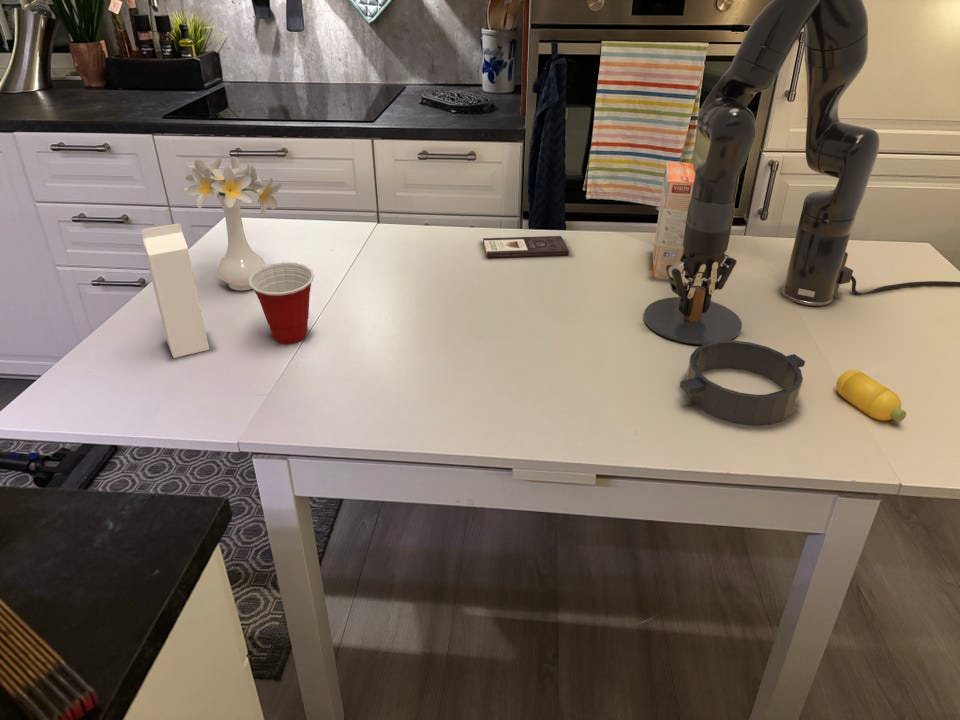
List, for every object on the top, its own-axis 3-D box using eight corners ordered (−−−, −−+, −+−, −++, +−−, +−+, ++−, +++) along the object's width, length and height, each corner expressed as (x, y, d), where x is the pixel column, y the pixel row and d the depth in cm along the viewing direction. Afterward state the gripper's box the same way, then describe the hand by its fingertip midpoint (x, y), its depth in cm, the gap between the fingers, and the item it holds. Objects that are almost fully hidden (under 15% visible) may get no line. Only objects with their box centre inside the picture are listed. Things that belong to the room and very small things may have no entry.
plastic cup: (255, 354, 126) (244, 291, 120) (261, 324, 135) (251, 264, 129) (320, 349, 127) (312, 286, 121) (321, 320, 137) (314, 260, 130)
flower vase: (279, 301, 143) (260, 174, 130) (190, 294, 145) (163, 169, 132) (303, 273, 154) (288, 154, 141) (220, 267, 156) (198, 149, 143)
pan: (650, 384, 119) (654, 354, 116) (758, 358, 126) (765, 330, 123) (714, 442, 106) (721, 410, 103) (831, 410, 113) (840, 379, 110)
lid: (625, 311, 140) (629, 276, 136) (701, 295, 145) (707, 262, 142) (679, 355, 126) (685, 318, 122) (761, 336, 132) (769, 301, 128)
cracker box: (681, 282, 152) (698, 182, 141) (651, 279, 153) (665, 180, 142) (679, 255, 164) (694, 161, 153) (652, 253, 165) (665, 160, 154)
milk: (209, 350, 127) (184, 229, 116) (172, 358, 125) (143, 236, 113) (202, 334, 132) (177, 217, 120) (166, 342, 129) (137, 223, 118)
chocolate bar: (568, 251, 163) (487, 253, 161) (568, 255, 163) (487, 257, 161) (560, 235, 170) (483, 238, 169) (560, 239, 171) (483, 242, 169)
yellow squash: (826, 393, 117) (834, 367, 114) (849, 387, 118) (857, 361, 116) (884, 433, 108) (894, 407, 105) (908, 426, 109) (918, 400, 107)
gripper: (687, 236, 120) (672, 328, 129) (757, 224, 125) (738, 315, 134) (661, 220, 126) (648, 310, 135) (728, 210, 131) (712, 297, 140)
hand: (693, 312), depth 134 cm, fingers closed on lid, 3 cm apart
